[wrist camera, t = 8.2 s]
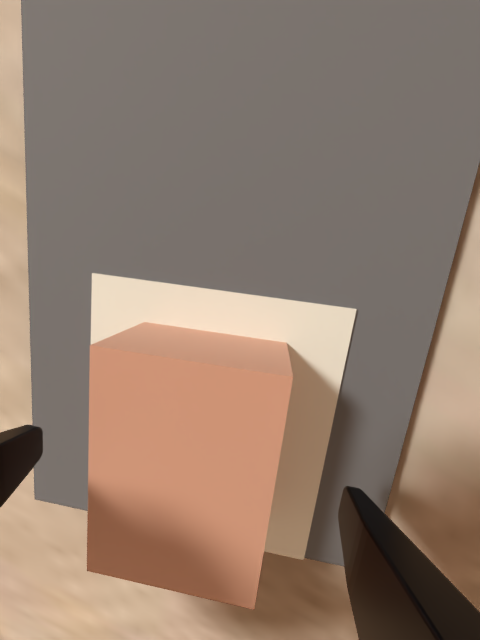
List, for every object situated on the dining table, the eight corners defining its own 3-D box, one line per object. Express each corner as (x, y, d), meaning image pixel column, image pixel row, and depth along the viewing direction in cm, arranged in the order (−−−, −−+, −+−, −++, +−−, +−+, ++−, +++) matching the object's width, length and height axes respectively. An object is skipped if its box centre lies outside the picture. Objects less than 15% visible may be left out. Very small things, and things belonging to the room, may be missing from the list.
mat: (578, -263, 7) (614, -323, 6) (363, 556, 11) (369, 574, 11) (32, -242, 8) (9, -290, 7) (45, 488, 13) (32, 501, 12)
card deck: (258, 516, 11) (253, 609, 8) (135, 491, 11) (87, 570, 8) (286, 342, 9) (292, 376, 6) (144, 321, 10) (89, 345, 7)
